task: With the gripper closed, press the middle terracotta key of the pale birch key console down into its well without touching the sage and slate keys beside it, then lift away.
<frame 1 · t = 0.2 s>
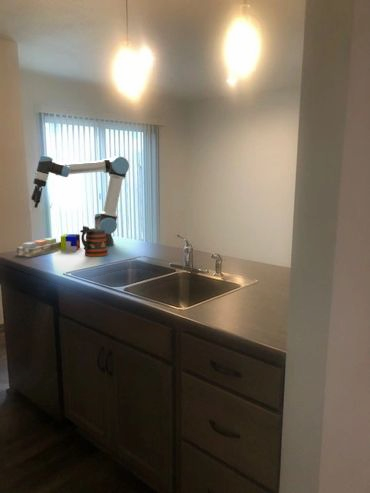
hand: (32, 211, 247), 27 cm above the counter, tool tilted 15°, fingers open, 13 cm apart
beer stein: (94, 255, 247), on the counter
key slate: (29, 246, 244), point 5 cm above the counter, slide at 0.0 cm
key terracotta: (40, 243, 252), point 5 cm above the counter, slide at 0.0 cm
puzzle toy: (70, 249, 263), on the counter
key console: (40, 252, 253), on the counter
key sage: (49, 241, 260), point 5 cm above the counter, slide at 0.0 cm
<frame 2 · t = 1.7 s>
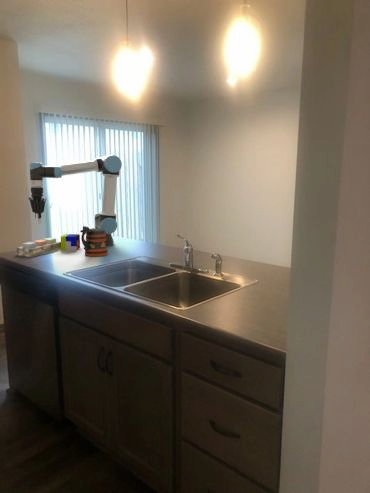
hand: (38, 223, 249), 19 cm above the counter, tool pointing down, fingers closed
nothing on the counter moved.
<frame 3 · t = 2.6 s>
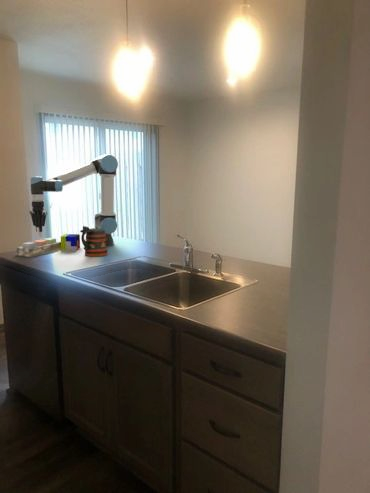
hand: (39, 236, 251), 10 cm above the counter, tool pointing down, fingers closed
nothing on the counter moved.
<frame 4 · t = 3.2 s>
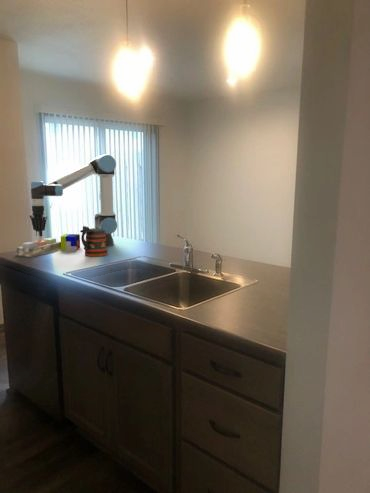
hand: (39, 240, 251), 7 cm above the counter, tool pointing down, fingers closed
key terracotta: (40, 244, 252), point 5 cm above the counter, slide at 0.3 cm, touching gripper
everything else where it was.
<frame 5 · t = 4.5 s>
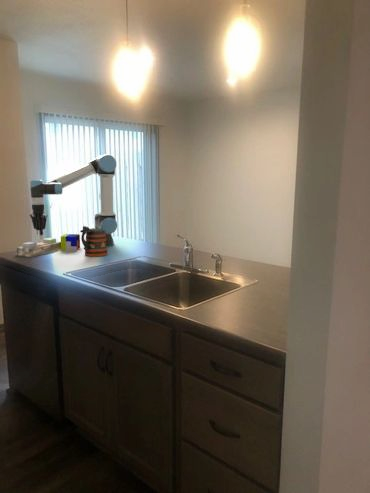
hand: (40, 239, 252), 8 cm above the counter, tool pointing down, fingers closed
key terracotta: (40, 246, 252), point 3 cm above the counter, slide at 2.0 cm, touching key console
everything else where it was.
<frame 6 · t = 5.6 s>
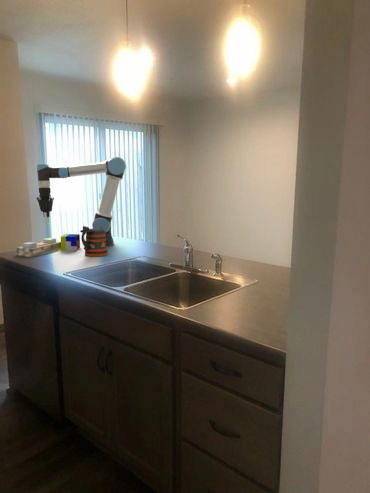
hand: (47, 221, 262), 19 cm above the counter, tool pointing down, fingers closed
nothing on the counter moved.
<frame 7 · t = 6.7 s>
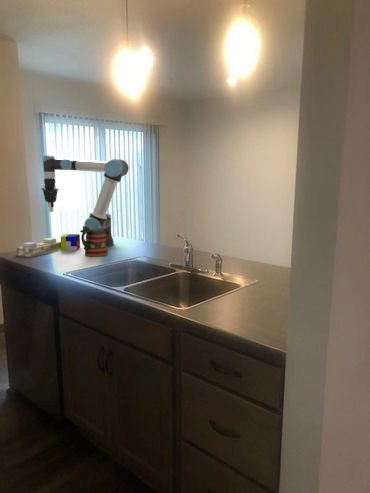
hand: (51, 211, 272), 24 cm above the counter, tool pointing down, fingers closed
nothing on the counter moved.
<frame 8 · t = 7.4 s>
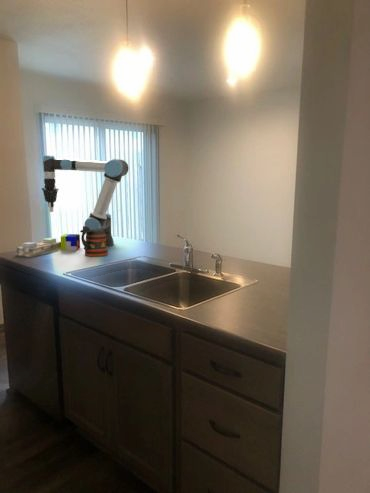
hand: (51, 211, 272), 24 cm above the counter, tool pointing down, fingers closed
nothing on the counter moved.
at the end: key terracotta slide at 2.0 cm; key sage slide at 0.0 cm; key slate slide at 0.0 cm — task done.
